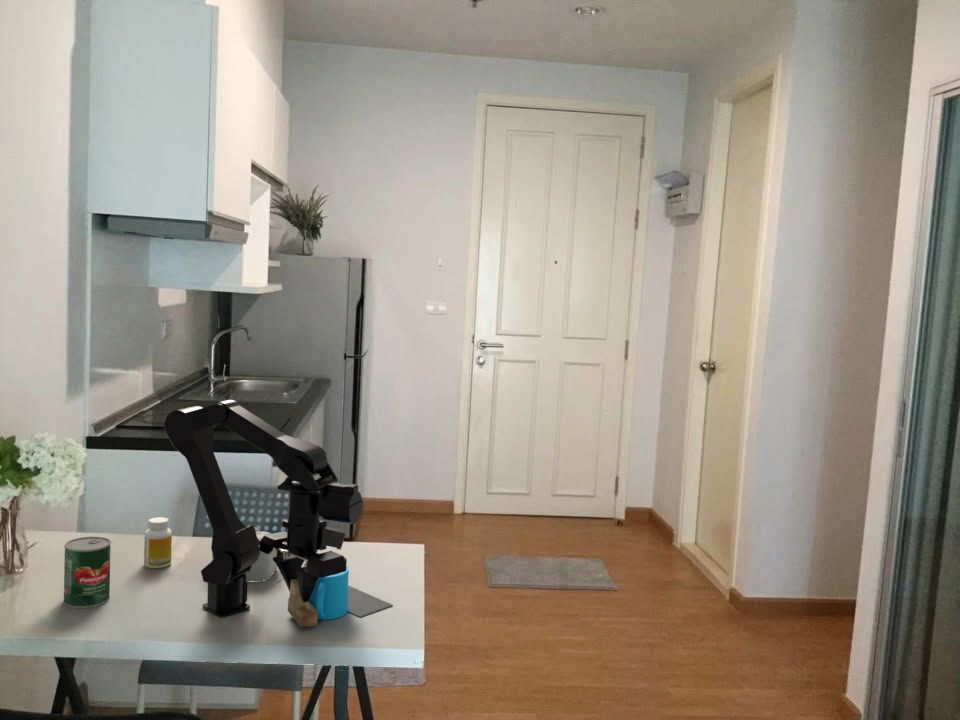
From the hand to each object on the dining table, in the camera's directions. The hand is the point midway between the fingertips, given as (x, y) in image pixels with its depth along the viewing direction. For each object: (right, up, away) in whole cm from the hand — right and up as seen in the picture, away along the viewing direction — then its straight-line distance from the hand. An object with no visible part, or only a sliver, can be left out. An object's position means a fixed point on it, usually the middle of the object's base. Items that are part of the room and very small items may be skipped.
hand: (300, 599), depth 153 cm
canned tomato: (-41, -2, +5) cm, 41 cm away
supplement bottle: (-36, 0, +25) cm, 44 cm away
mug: (+4, -4, +5) cm, 7 cm away
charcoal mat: (+8, -4, +12) cm, 15 cm away
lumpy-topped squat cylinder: (-17, -1, +24) cm, 29 cm away
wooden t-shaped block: (-1, -4, 0) cm, 4 cm away
